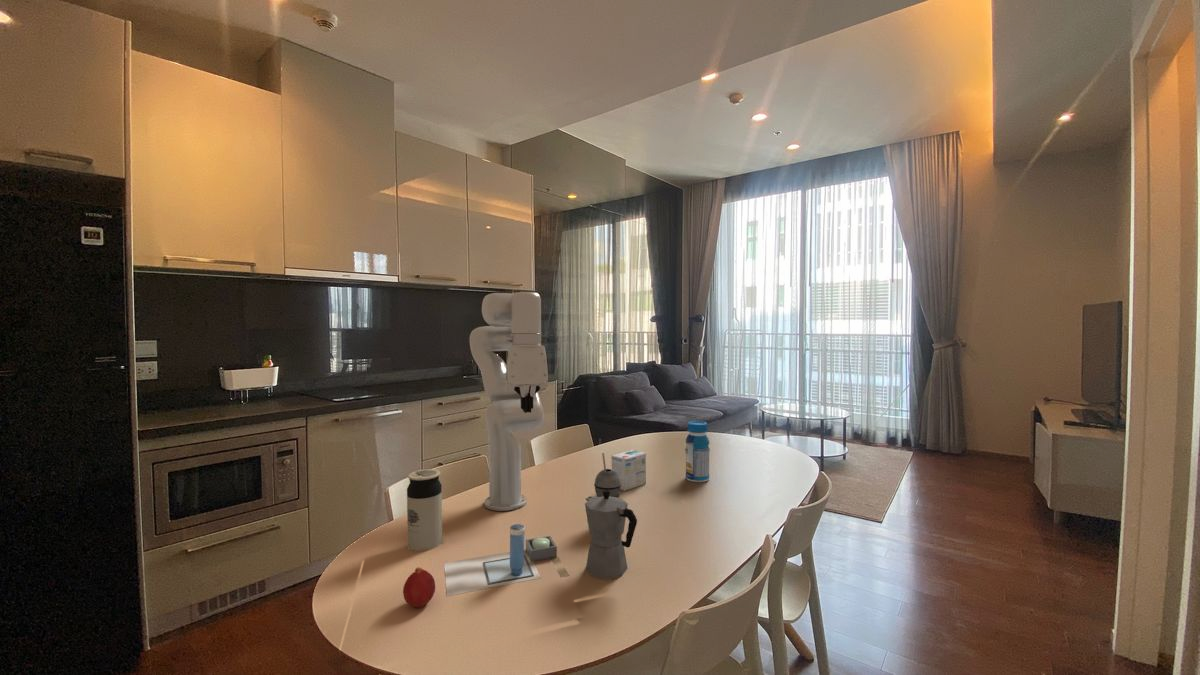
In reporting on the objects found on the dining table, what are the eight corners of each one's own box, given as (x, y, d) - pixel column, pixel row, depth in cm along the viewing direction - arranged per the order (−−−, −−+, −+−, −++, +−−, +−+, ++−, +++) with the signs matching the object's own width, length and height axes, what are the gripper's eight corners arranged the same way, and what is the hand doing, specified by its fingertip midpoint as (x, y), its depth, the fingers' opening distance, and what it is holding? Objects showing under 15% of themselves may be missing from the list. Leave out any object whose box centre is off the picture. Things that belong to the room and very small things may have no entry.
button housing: (525, 550, 113) (525, 539, 113) (550, 546, 115) (550, 535, 115) (531, 562, 107) (531, 550, 107) (556, 557, 109) (556, 546, 109)
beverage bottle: (704, 484, 161) (704, 426, 160) (681, 480, 165) (681, 423, 165) (713, 477, 168) (713, 421, 167) (690, 473, 172) (690, 419, 172)
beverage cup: (619, 534, 123) (618, 457, 122) (591, 531, 124) (591, 456, 124) (623, 522, 130) (623, 450, 129) (597, 520, 131) (597, 449, 131)
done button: (530, 549, 112) (530, 539, 112) (547, 546, 113) (547, 536, 113) (534, 556, 108) (534, 546, 108) (551, 553, 110) (551, 543, 110)
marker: (508, 570, 103) (508, 525, 103) (522, 568, 104) (522, 523, 104) (510, 577, 100) (511, 530, 100) (525, 575, 101) (526, 528, 101)
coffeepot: (571, 567, 106) (570, 487, 105) (601, 553, 112) (601, 478, 112) (620, 595, 95) (619, 506, 94) (651, 578, 101) (650, 494, 101)
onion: (409, 599, 94) (408, 559, 93) (438, 598, 94) (438, 558, 94) (399, 617, 88) (398, 575, 88) (430, 616, 88) (430, 573, 88)
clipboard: (439, 564, 107) (439, 561, 107) (550, 545, 116) (550, 542, 116) (441, 603, 92) (441, 598, 92) (569, 578, 101) (569, 574, 101)
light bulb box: (632, 479, 167) (632, 449, 166) (646, 484, 162) (646, 452, 162) (610, 486, 160) (610, 454, 159) (625, 491, 155) (624, 458, 154)
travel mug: (433, 535, 122) (432, 466, 122) (448, 546, 116) (447, 473, 116) (402, 546, 117) (401, 473, 116) (416, 557, 111) (415, 481, 111)
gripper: (499, 341, 115) (499, 416, 116) (558, 340, 120) (558, 412, 121) (494, 340, 122) (495, 411, 123) (551, 339, 127) (551, 407, 128)
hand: (527, 411), depth 122 cm, fingers closed
